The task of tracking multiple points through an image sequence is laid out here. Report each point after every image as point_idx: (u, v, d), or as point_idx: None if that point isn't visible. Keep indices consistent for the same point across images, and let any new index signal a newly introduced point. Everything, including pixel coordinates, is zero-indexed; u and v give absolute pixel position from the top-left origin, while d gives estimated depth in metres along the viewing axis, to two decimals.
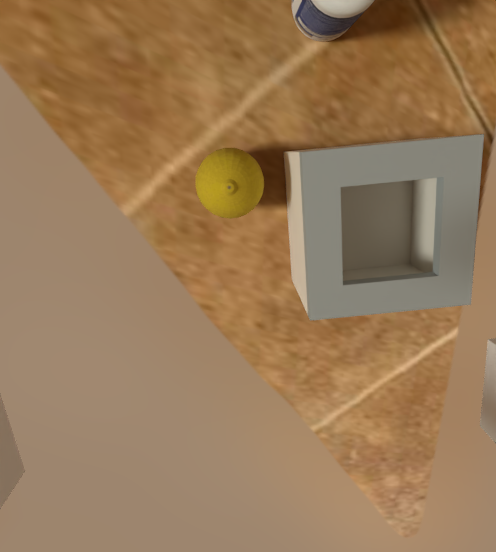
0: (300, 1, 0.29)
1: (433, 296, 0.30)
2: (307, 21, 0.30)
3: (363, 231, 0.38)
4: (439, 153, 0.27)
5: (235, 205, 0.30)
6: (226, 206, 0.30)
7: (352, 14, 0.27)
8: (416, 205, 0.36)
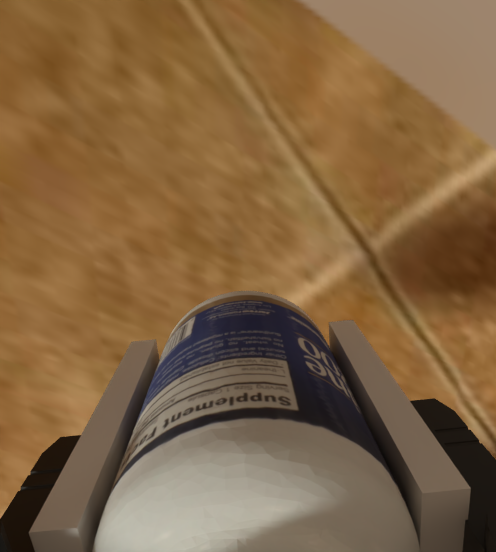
0: None
1: None
2: None
3: None
4: None
5: None
6: None
7: None
8: None
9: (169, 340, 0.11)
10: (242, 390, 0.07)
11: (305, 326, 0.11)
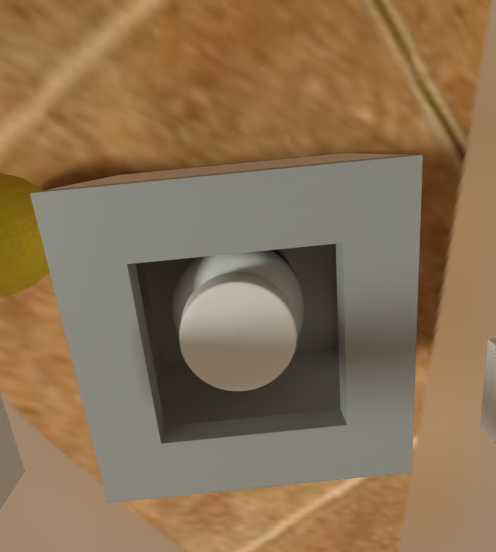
0: None
1: (339, 459, 0.16)
2: None
3: None
4: (329, 195, 0.13)
5: None
6: None
7: None
8: None
9: None
10: None
11: None
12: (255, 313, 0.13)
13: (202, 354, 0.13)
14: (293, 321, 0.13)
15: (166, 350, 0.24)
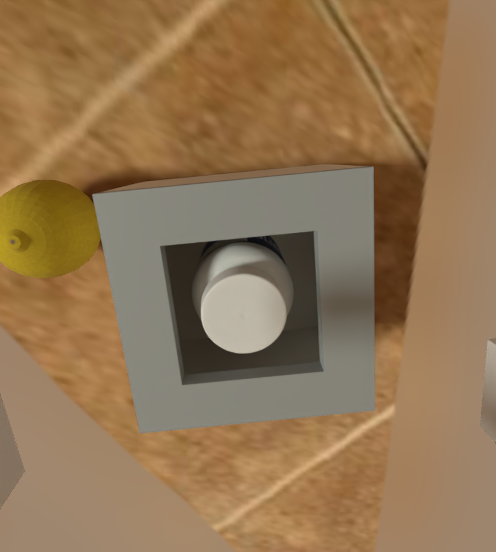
0: None
1: (318, 399, 0.20)
2: None
3: None
4: (307, 195, 0.17)
5: (34, 265, 0.21)
6: (21, 266, 0.21)
7: None
8: None
9: None
10: (230, 240, 0.21)
11: None
12: (255, 296, 0.18)
13: (218, 327, 0.19)
14: (283, 301, 0.18)
15: (180, 328, 0.29)
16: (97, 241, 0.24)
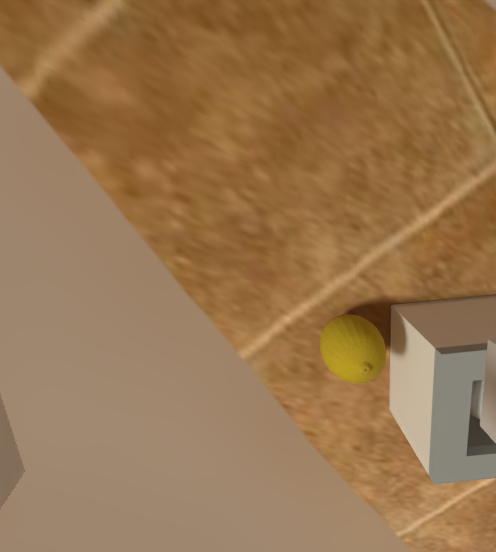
0: None
1: None
2: None
3: None
4: None
5: (366, 379, 0.33)
6: (358, 380, 0.33)
7: None
8: None
9: None
10: None
11: None
12: None
13: None
14: None
15: None
16: None
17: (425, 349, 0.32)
